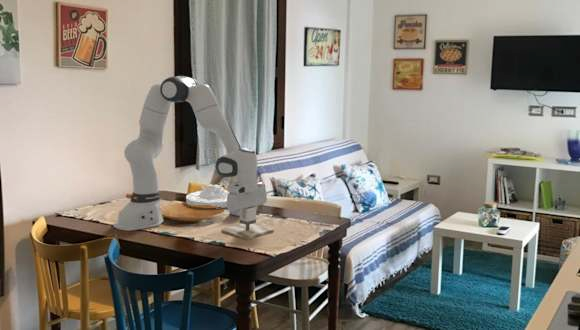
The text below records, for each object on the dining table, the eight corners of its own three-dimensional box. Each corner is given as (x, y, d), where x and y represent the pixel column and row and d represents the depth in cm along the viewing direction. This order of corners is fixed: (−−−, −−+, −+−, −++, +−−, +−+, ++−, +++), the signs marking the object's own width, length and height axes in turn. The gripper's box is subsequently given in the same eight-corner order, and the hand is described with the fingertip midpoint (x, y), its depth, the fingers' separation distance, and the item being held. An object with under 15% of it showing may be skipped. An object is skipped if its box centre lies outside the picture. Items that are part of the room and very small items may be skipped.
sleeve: (247, 225, 269) (247, 209, 267) (239, 222, 272) (239, 207, 271) (256, 222, 272) (255, 207, 271) (248, 220, 275) (248, 205, 274)
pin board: (246, 239, 262) (246, 229, 261) (221, 231, 273) (221, 221, 272) (273, 231, 273) (273, 221, 272) (249, 224, 284) (249, 214, 283)
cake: (220, 212, 306) (219, 192, 304) (174, 205, 319) (174, 186, 318) (251, 199, 330) (250, 181, 328) (207, 193, 343) (207, 176, 342)
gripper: (260, 180, 278) (260, 211, 281) (224, 188, 264) (225, 220, 267) (269, 182, 274) (270, 213, 277) (234, 190, 260) (234, 223, 262)
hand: (247, 217), depth 272 cm, fingers closed on sleeve, 5 cm apart
